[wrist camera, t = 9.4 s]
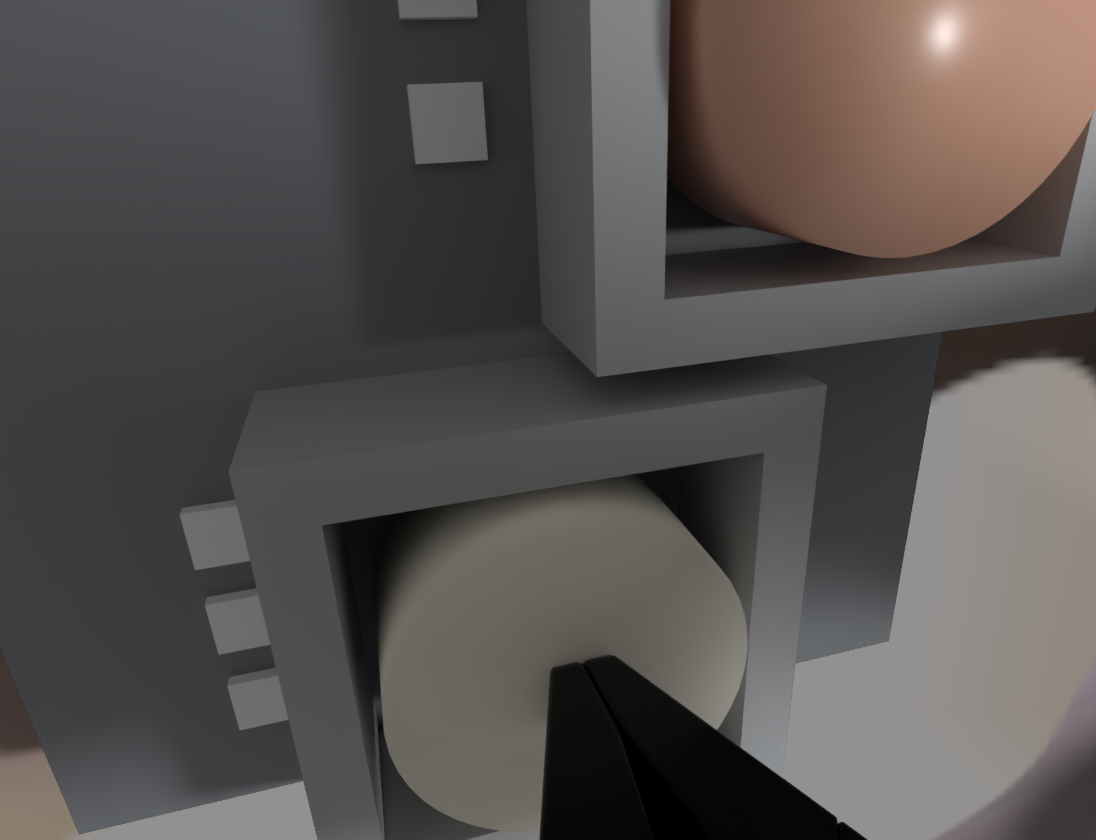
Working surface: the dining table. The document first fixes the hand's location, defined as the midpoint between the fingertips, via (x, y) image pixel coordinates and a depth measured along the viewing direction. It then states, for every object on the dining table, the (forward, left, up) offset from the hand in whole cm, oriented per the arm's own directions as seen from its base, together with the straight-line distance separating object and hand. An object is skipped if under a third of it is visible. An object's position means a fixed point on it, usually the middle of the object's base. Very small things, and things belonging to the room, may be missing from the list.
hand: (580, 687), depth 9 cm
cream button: (0, 0, -3) cm, 3 cm away
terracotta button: (-4, -7, -2) cm, 9 cm away
